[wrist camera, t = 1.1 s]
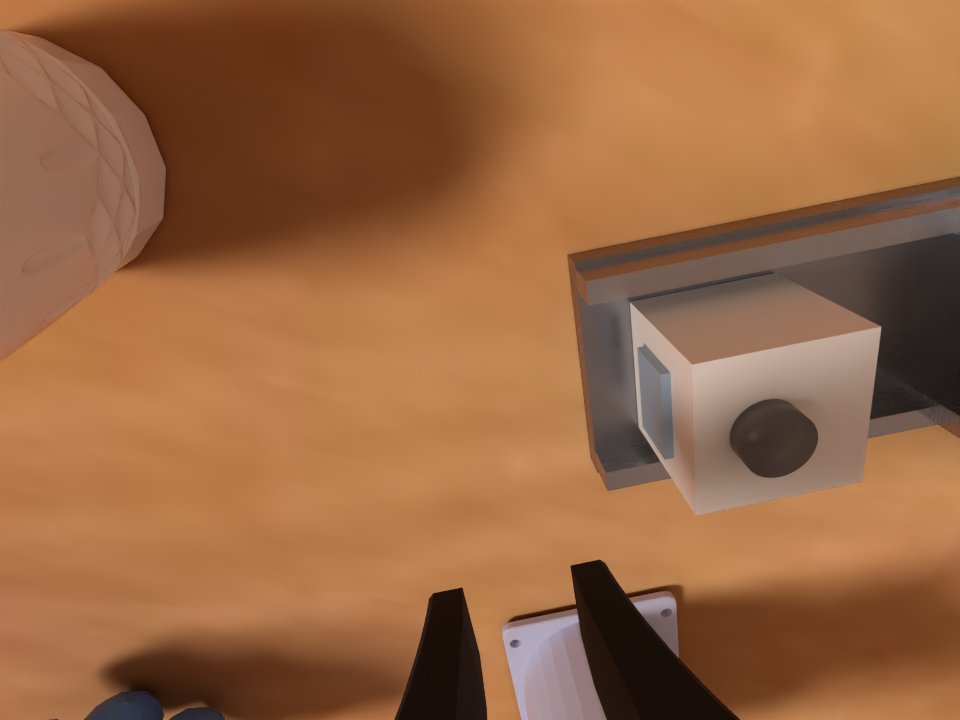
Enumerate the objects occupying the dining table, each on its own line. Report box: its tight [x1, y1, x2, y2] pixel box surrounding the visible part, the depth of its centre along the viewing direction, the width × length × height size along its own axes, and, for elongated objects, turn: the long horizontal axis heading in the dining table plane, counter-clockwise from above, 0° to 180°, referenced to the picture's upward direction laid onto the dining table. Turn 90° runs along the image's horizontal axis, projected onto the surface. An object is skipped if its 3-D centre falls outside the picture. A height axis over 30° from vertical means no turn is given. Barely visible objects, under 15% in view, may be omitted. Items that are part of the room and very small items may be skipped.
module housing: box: [567, 177, 960, 491], centre depth 19 cm, size 13×19×6 cm
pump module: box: [630, 273, 881, 515], centre depth 18 cm, size 5×5×6 cm
